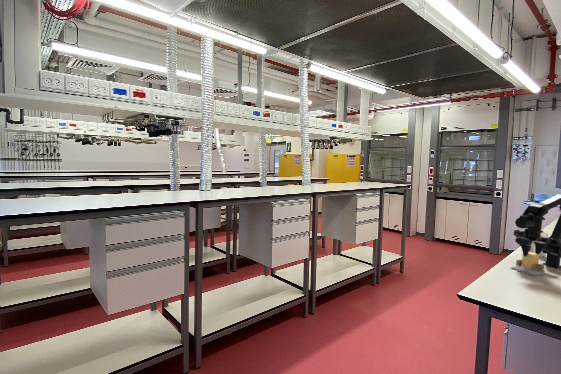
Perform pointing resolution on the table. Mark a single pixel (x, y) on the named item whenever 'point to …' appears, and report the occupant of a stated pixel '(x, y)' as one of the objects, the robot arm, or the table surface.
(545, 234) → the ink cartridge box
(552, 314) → the table surface
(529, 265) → the ochre block
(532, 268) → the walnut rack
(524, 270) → the slate pad
